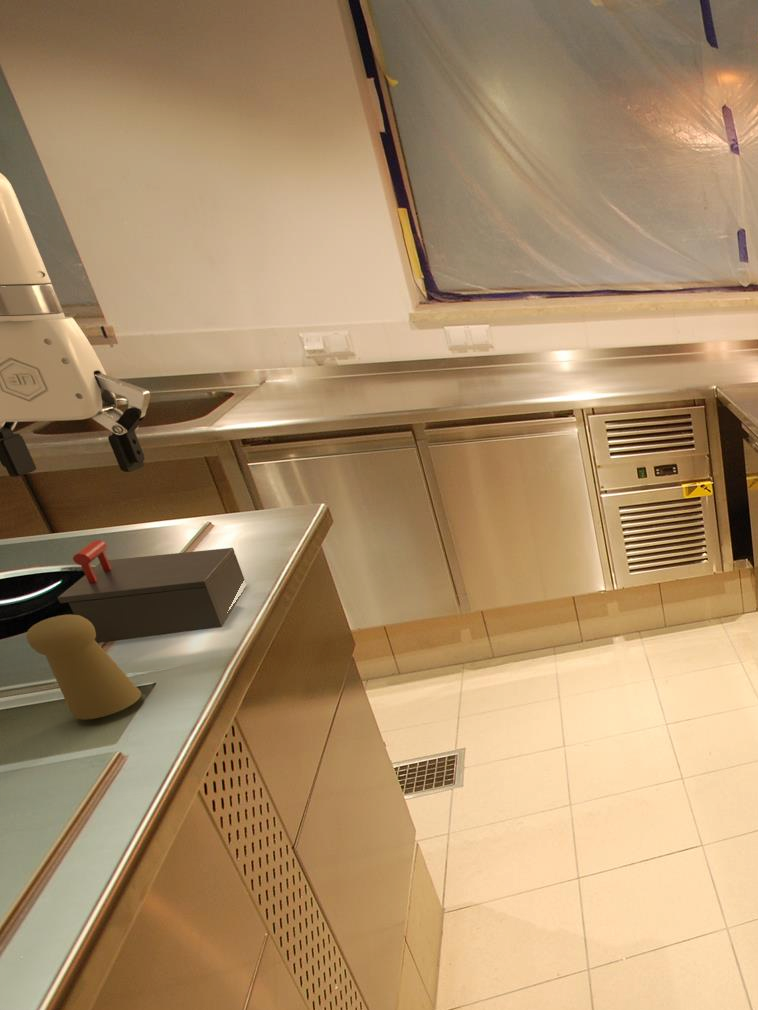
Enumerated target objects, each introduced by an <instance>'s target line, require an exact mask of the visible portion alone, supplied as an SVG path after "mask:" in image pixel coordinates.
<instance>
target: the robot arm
mask: <svg viewBox="0 0 758 1010" xmlns="http://www.w3.org/2000/svg"><path fill="white" fill-rule="evenodd" d="M116 395H118V396H121V397H123V398H124V399H126V400H127V409H125V410H124V412H123V411H122V410H120V409H119V408H117V407H118V401H117V397H116ZM150 400H151V392H150V391H149V390H148V389H146V388H143V387H140V386H138V385H135V384H132V383H129V382H127V381H124V380H121V379H118V378H115V377H112V376H110V375H107V373H106V370H105V369H104V366H103V365H102V363H101V361H100V359H99V357H98V355H97V353H96V351H95V349H94V347H93V346H92V344H91V342H90V341H89V340H88V338H87V336H86V335H85V333H84V332H83V330H82V329H81V327H80V326H79V324H78V323H77V321H76V320H75V319H74V318H73V317H72V316H65V313H64V310H63V308H62V306H61V303H60V300H59V298H58V296H57V293H56V290H55V287H54V285H53V284H52V280H51V278H50V276H49V274H48V271H47V268H46V266H45V262H44V260H43V258H42V256H41V254H40V251H39V248H38V246H37V243H36V242H35V239H34V236H33V234H32V231H31V229H30V226H29V224H28V221H27V219H26V216H25V214H24V212H23V209H22V207H21V204H20V201H19V199H18V197H17V194H16V192H15V190H14V188H13V186H12V184H11V182H10V181H9V179H8V178H7V177H6V176H5V175H4V174H2V172H0V463H1V465H2V466H3V467H4V468H5V469H6V471H7V473H8V475H9V477H12V478H15V477H16V478H17V477H21V476H24V475H27V474H30V473H33V472H34V471H36V470H37V466H36V463H35V462H34V459H33V456H32V455H31V453H30V451H29V448H28V446H27V444H26V442H25V439H24V437H23V436H22V435H21V433H14V429H15V428H16V426H17V424H18V423H19V422H23V423H24V422H54V421H55V422H56V421H57V422H58V421H59V422H60V421H77V420H78V421H80V420H81V421H82V420H86V419H87V420H88V419H92V420H94V422H96V423H98V424H99V425H101V426H103V427H104V428H105V429H107V430H108V431H109V432H111V433H112V434H110V435H108V437H107V440H108V442H109V445H110V447H111V449H112V452H113V454H114V456H115V459H116V462H117V465H118V466H119V469H120V471H122V472H124V473H132V472H134V471H136V470H138V469H141V468H143V467H144V466H145V462H144V461H145V454H144V452H143V448H142V447H141V444H140V442H139V439H138V436H137V434H136V431H137V430H138V429H139V426H140V425H141V423H142V422H143V421H144V419H145V418H146V417H147V415H148V408H149V403H150Z"/></svg>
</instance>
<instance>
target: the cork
mask: <svg viewBox="0 0 758 1010" xmlns="http://www.w3.org/2000/svg"><path fill="white" fill-rule="evenodd" d="M95 637H96V632H95V628H94V626H93V624H92V623H91V622H90V621H89V620H88V619H86V618H84V617H82V616H79V615H74V614H62V615H55V616H51V617H48V618H46V619H43V620H40V621H39V622H36V623H35V624H33V625H32V626H31V627H29V629H27V632H26V640H27V643H28V645H29V646H30V648H31V649H33V650H34V651H35V652H37V653H38V654H40V655H43V656H45V657H46V658H45V659H46V661H47V662H48V666H49V667H50V669H51V671H52V673H53V676H54V678H55V680H56V683H57V685H58V686H59V689H60V692H61V694H62V696H63V698H64V700H65V703H66V705H67V708H68V709H69V711H70V714H71V716H72V717H73V718H74V719H76V720H83V721H84V720H93V719H99V718H104V717H107V716H110V715H113V714H116V713H119V712H121V711H123V710H125V709H127V708H128V707H130V706H132V705H133V704H135V703H137V701H138V700H140V698H141V697H142V691H141V690H140V689H139V688H138V687H137V686H136V685H135V684H134V682H133V681H132V680H131V679H130V678H129V677H128V676H127V675H126V673H124V671H123V670H122V669H121V667H119V666H118V665H117V663H116V662H115V661H114V660H113V658H111V657H110V655H109V654H107V653H108V652H106V651H105V650H104V648H102V647H101V645H100V643H97V642H96V641H95Z"/></svg>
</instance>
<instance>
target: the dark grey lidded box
mask: <svg viewBox="0 0 758 1010" xmlns="http://www.w3.org/2000/svg"><path fill="white" fill-rule="evenodd" d="M244 580H245V581H246V579H245V577H244V574H243V571H242V568H241V565H240V563H239V560H238V558H237V555H236V552H235V553H234V554H233V555H232V556H231V558H230V559H229V560H228V561H227V562H226V564H225V565H224V566H223V567H222V568H221V570H220V571H219V572H218V573H217V574H216V576H215V577H214V578H213V579H212V580H211V581H210V583H209V584H208V585H207V586H206V587H199V588H190V589H181V590H172V591H163V592H155V593H146V594H137V595H128V596H120V597H111V598H102V599H93V600H84V601H76V602H68V605H69V607H70V609H71V611H72V613H73V615H79V616H82V617H84V618H86V619H88V620H89V621H90V622H91V623H92V624H93V626H94V628H95V632H96V637H95V641H96V642H97V643H98V644H102V643H109V642H116V641H124V640H132V639H141V638H147V637H156V636H163V635H171V634H178V633H187V632H194V631H202V630H209V629H217V628H222V627H223V626H224V624H225V623H226V621H227V619H228V618H229V616H230V614H231V613H232V611H233V609H234V608H235V606H236V605H237V603H238V601H239V599H240V598H241V596H242V595H243V593H244V591H245V589H246V588H245V589H244V591H243V592H242V593H241V595H240V596H239V597H238V599H237V600H236V602H235V603H234V604H233V606H232V607H231V609H230V610H229V607H230V606H231V604H232V602H233V600H234V598H235V596H236V594H237V592H238V590H239V588H240V586H241V584H242V583H243V581H244ZM228 610H229V611H228ZM227 612H228V613H227Z"/></svg>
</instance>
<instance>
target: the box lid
mask: <svg viewBox="0 0 758 1010" xmlns="http://www.w3.org/2000/svg"><path fill="white" fill-rule="evenodd" d="M107 549H108V545H107V543H106V542H104V541H103V540H100V539H95V540H93V541H91V542H90V543H89V544H87V545H86V546H85V547H83V548H82V549H81V550H79V551H78V552H77V553H75V554H74V555H73V557H72V560H73V562H74V563H75V564H77V565H79V566H81V568H82V571H83V573H84V575H83V576H82V577H81V578H79V579H78V580H77V581H76V582H74V583H73V585H71V586H70V587H69V588H67V589H66V590H65V591H64V592H62V593H61V594H60V595H59V596H57V601H58V602H59V603H60V604H65V603H69V602H76V601H84V600H93V599H102V598H111V597H120V596H128V595H137V594H146V593H155V592H163V591H172V590H181V589H190V588H199V587H206V586H207V585H208V584H209V583H210V581H211V580H212V579H213V578H214V577H215V576H216V574H217V573H218V572H219V571H220V570H221V568H222V567H223V566H224V565H225V564H226V562H227V561H228V560H229V559H230V558H231V556H232V555H233V554H234V553H235V554H236V551H235V549H234V547H226V548H216V549H206V550H205V549H204V550H196V551H195V550H194V551H185V552H176V553H175V552H174V553H166V554H156V555H147V556H146V555H145V556H137V557H136V556H135V557H126V558H125V557H124V558H115V559H109V558H108V556H107V554H106V551H107ZM96 558H98V561H99V563H98V564H97V565H96V566H94V567H92V564H91V562H93V561H94V560H96Z"/></svg>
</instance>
